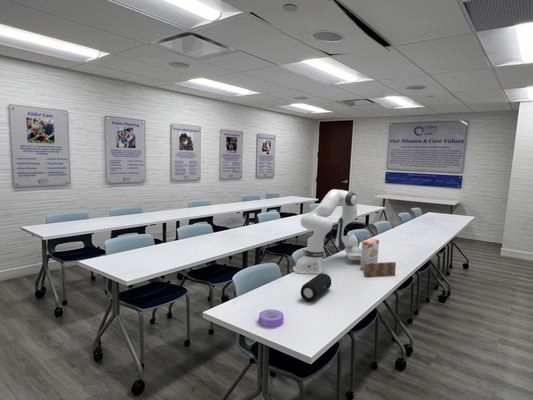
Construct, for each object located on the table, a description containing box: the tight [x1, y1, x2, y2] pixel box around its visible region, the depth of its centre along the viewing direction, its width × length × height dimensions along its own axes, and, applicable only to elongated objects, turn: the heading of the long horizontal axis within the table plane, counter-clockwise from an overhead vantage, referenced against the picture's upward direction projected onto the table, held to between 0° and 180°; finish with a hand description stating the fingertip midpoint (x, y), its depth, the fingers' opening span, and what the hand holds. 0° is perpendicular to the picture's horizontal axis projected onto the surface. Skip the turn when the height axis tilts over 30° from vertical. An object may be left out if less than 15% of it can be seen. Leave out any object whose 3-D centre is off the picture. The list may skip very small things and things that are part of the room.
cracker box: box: [360, 238, 380, 270], centre depth 246 cm, size 14×6×21 cm, turn 132°
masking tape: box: [258, 308, 285, 329], centre depth 162 cm, size 12×12×4 cm
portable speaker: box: [300, 272, 332, 302], centre depth 196 cm, size 26×10×10 cm, turn 148°
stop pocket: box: [363, 261, 397, 278], centre depth 233 cm, size 22×7×9 cm, turn 101°
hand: (365, 259), depth 250 cm, fingers closed
